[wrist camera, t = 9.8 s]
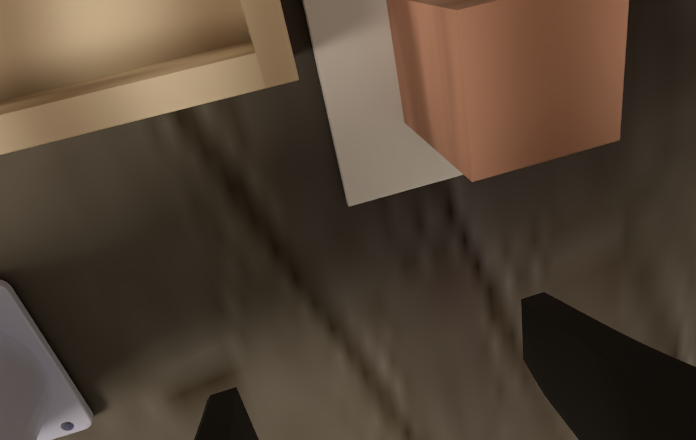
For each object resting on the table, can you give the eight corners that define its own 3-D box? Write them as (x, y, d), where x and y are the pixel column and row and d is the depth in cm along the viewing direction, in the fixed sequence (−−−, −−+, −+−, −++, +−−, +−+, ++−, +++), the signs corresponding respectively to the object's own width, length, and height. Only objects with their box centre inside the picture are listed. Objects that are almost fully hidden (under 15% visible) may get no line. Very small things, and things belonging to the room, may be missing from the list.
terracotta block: (404, 122, 19) (472, 182, 14) (385, -5, 17) (457, 9, 12) (514, 93, 20) (619, 140, 14) (509, -34, 18) (631, -33, 12)
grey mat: (346, 202, 21) (348, 206, 20) (284, -77, 16) (286, -78, 15) (571, 140, 22) (577, 143, 21) (577, -141, 17) (584, -143, 16)
